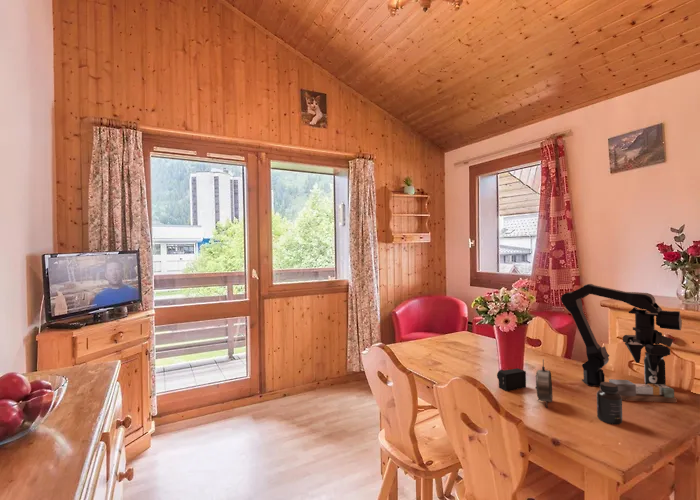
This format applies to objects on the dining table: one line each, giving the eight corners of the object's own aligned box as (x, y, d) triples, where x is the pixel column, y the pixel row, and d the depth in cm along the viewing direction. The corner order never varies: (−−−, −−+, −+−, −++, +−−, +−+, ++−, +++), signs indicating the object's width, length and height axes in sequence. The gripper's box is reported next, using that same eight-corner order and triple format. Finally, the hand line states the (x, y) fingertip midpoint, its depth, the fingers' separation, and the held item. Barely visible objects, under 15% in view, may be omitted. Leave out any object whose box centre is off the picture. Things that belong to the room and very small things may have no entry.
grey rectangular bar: (631, 394, 134) (630, 386, 134) (625, 390, 137) (625, 382, 137) (670, 395, 131) (670, 387, 131) (663, 392, 135) (663, 384, 135)
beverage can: (669, 389, 142) (668, 359, 142) (650, 388, 143) (650, 358, 143) (659, 383, 148) (658, 354, 148) (641, 382, 150) (640, 354, 150)
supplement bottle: (592, 416, 121) (591, 380, 121) (610, 415, 121) (609, 379, 121) (608, 426, 114) (607, 388, 114) (628, 424, 115) (627, 387, 115)
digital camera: (516, 383, 152) (515, 367, 152) (526, 387, 147) (525, 370, 147) (496, 386, 149) (496, 370, 149) (506, 391, 143) (505, 374, 143)
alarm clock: (551, 410, 126) (550, 364, 126) (534, 406, 129) (533, 362, 129) (553, 398, 135) (552, 356, 135) (537, 396, 138) (536, 354, 138)
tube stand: (616, 399, 133) (615, 384, 133) (607, 393, 139) (606, 378, 139) (676, 402, 130) (676, 386, 130) (665, 395, 136) (664, 380, 136)
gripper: (687, 332, 126) (687, 376, 126) (652, 321, 144) (652, 360, 144) (651, 331, 128) (652, 374, 128) (621, 321, 146) (622, 358, 146)
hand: (645, 366), depth 136 cm, fingers open, 9 cm apart
